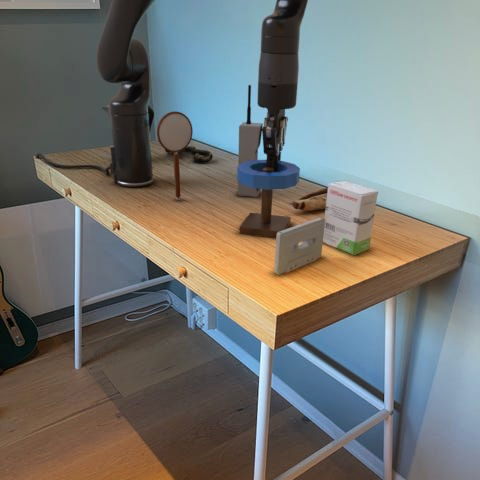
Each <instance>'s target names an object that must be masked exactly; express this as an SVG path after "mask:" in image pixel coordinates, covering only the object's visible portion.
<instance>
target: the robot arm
mask: <svg viewBox="0 0 480 480" xmlns="http://www.w3.org/2000/svg"><path fill="white" fill-rule="evenodd" d="M155 2H156V0H111V3H110V7H109V9H108V14H107V17H106V19H105V21H104V26H103V28H102V32H101V35H100V37H99V39H98V44H97V48H96V55H95V63H96V68H97V71H98V74H99V76H100V77H101V78H102V79H103V80H104V82H106V83H109V84H120V86H119V90H118V91H117V93H116V94H115V95H114V96H113V97H112V98H111V99H110V100H109V102H108V105H109V110H110V117H109V119H110V126H111V135H112V144H111V145H110V146H109V149H110V157H111V162H109V166H106V168H104V167H102V166H100V165H97V164H75V165H74V164H73V165H72V164H71V165H69V164H67V165H66V164H59V163H56V162H54V161H51V160H49V159H47V158H46V157H45V156H44V155H43V154H42V153H37V154H36V156H35V158H36V159H38V158H39V159H40V158H41V159H42V160H43V161H44V162H45V163H48V164H49V165H52V166H55V167H57V168H62V169H63V168H64V169H80V168H82V169H83V168H93V169H99V170H100V171H101V172H103V173H104V174H105V175H106V176H109V175H110V174H111V175H113V183H114V184H115V185H116V184H117V185H118V186H121V187H127V188H141V187H147V186H149V185H152V184H154V173H153V161H152V148H151V135H150V133H151V132H150V133H149V120H148V115H149V114H148V106H149V103H150V100H151V81H150V80H151V79H150V73H151V72H150V61H149V60H150V59H149V55H148V51H147V49H146V46H145V44H144V43H143V42H142V41H141V40H140V39H138V38H136V37H134V35H135V32H136V29H137V27H138V25H139V23H140V22H141V20H142V19H143V18H144V16H145V15H146V13H147V12H148V11H149V9H150V8H151V7H152V6H153V4H154V3H155ZM308 2H309V0H276V2H275V7H274V9H273V12H272V13H271V14H269V15H267V16H266V17H264V19H263V20H262V22H261V23H262V24H261V29H260V30H261V31H260V32H261V33H260V55H259V60H258V61H259V62H258V74H257V75H258V77H257V106H258V107H259V108H262V109H266V110H267V112H266V117H264V119H263V127H262V134H261V136H262V146H263V147H262V149H263V154H264V155H265V156H266V160H267V162H266V168H267V167H269V168H273V169H274V172H277V166H278V161H282V160H281V159H282V151H283V150H284V146H285V143H286V142H285V141H286V134H287V127H288V121H289V118H288V116H286V110H291V109H294V108H295V107H296V106H297V98H298V83H299V70H300V64H299V62H300V61H299V50H300V39H301V38H300V35H301V27H302V26H301V25H302V22H303V20H304V16H305V12H306V9H307V5H308ZM109 170H110V171H109Z"/></svg>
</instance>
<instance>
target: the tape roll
mask: <svg viewBox="0 0 480 480" xmlns="http://www.w3.org/2000/svg"><path fill="white" fill-rule="evenodd" d="M266 162H267V159H257V160H252V161H247V162H243V163H241V164H240V165H239V166H238V165H237V169H236V170H237V171H236V173H237V174H236V175H237V176H236V180H237V182H238V181H239V182H240V183H241V184H242V185H245V186H248V187H251V188H256V189H260V190H262V189H266V190H275V191H276V190H286V189H290V188H293V187H297V185H298V183H299V181H300V171H301V168H300V166H298V165H296V164H295V163H292V162H289V161H284V160H281V161H278V166H277V172H273V173H268V172H263V168H266Z"/></svg>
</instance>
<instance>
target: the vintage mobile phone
mask: <svg viewBox="0 0 480 480" xmlns="http://www.w3.org/2000/svg"><path fill="white" fill-rule="evenodd" d="M247 87H248V88H247V108H246V121H242V123H240V125H239V126H238V156H237V157H238V160H237V161H238V164H237V167H238V166H239V165H240V164H241V163H243V162H247V161H252V160H259V159H258V156H259V149H260V146H261V141H262V128H263V126H264V122H263V123H262V122H252V119H251V117H252V106H251V101H252V99H251V98H252V97H251V96H252V84H248V85H247ZM260 192H261V189H256V188H251V187H248V186H245V185H242V184H241V183H240V182H239V181H238V180H237V195H238V197H249V198H258V196H259V195H260V194H261V193H260Z"/></svg>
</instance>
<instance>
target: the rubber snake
mask: <svg viewBox="0 0 480 480" xmlns="http://www.w3.org/2000/svg"><path fill="white" fill-rule="evenodd" d="M164 151H165V153H167V154H170V153H172V152H170V151H167V150H166V149H164ZM180 152H181V153H191V154H192V159H193V162H195V163H197V164H206V163H209V162H211V161H212V160H213V157H214V156H213V154H212V152H211V151H209V150H208V149H207V150H206V149H200V148H199V149H198V148H196V147H195V146H193V145H191V146H190V145H188V146H187V147H186V148H185V149H183V150H182V151H179V152H178V153H180Z"/></svg>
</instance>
